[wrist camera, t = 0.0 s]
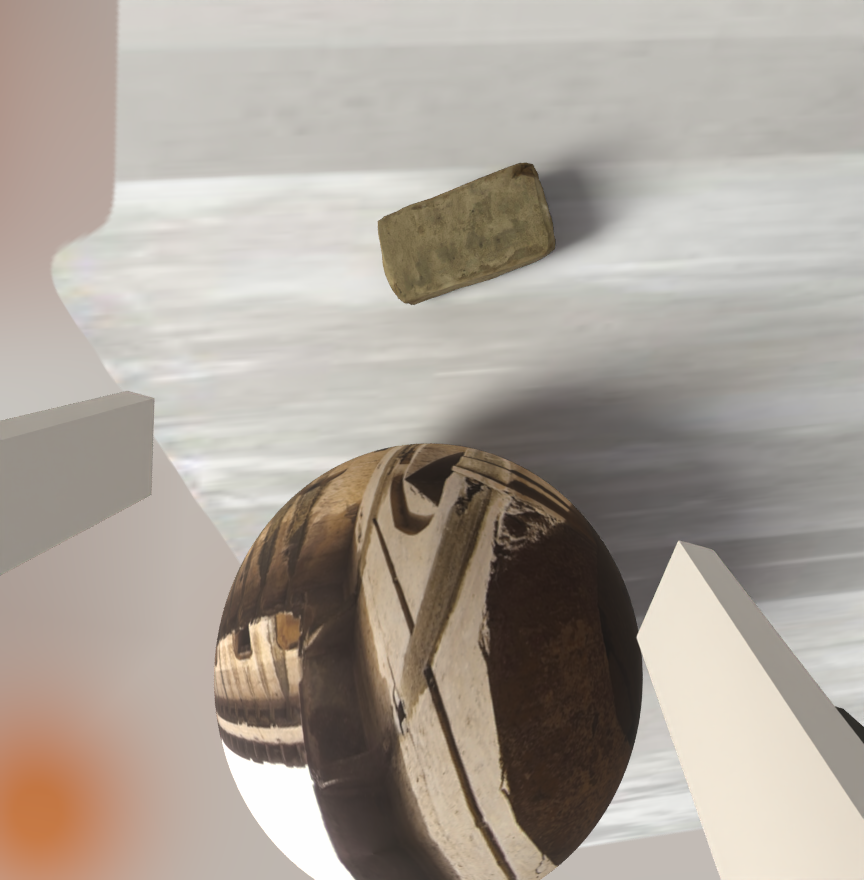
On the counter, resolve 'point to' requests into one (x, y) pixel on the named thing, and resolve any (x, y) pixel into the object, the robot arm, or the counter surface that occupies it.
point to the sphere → (428, 671)
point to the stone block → (467, 234)
